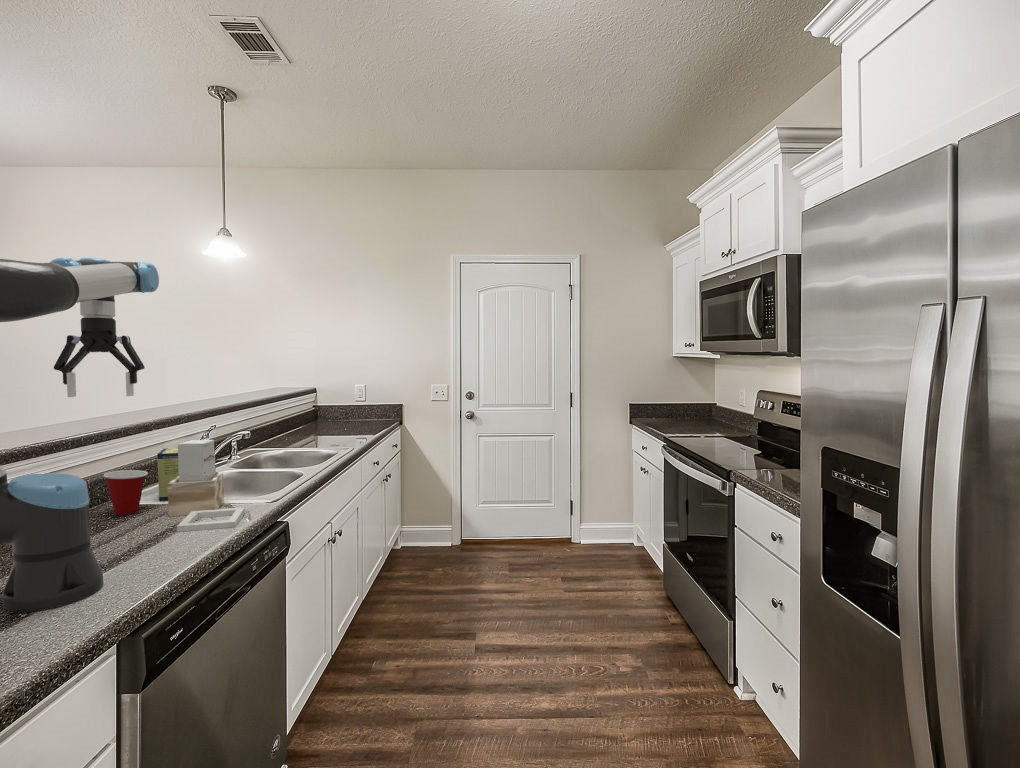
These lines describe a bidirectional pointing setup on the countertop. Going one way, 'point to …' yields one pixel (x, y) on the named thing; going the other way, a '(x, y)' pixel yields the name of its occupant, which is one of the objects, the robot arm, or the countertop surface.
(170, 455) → the protein box
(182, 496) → the tray
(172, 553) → the countertop surface
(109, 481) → the plastic cup
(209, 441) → the supplement box
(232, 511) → the white flat square frame
